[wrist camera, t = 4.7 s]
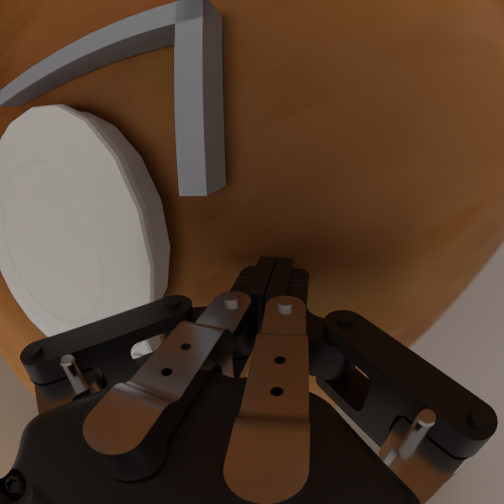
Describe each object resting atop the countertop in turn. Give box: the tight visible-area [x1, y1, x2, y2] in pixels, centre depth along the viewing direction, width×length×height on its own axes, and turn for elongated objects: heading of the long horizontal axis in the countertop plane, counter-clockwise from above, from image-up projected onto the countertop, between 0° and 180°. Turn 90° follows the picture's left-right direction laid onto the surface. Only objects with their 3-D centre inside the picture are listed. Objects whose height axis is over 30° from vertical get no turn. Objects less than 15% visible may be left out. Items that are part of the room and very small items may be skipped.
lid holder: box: [0, 0, 226, 196], centre depth 15 cm, size 25×16×2 cm, turn 2°
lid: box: [0, 104, 170, 359], centre depth 16 cm, size 17×20×3 cm
